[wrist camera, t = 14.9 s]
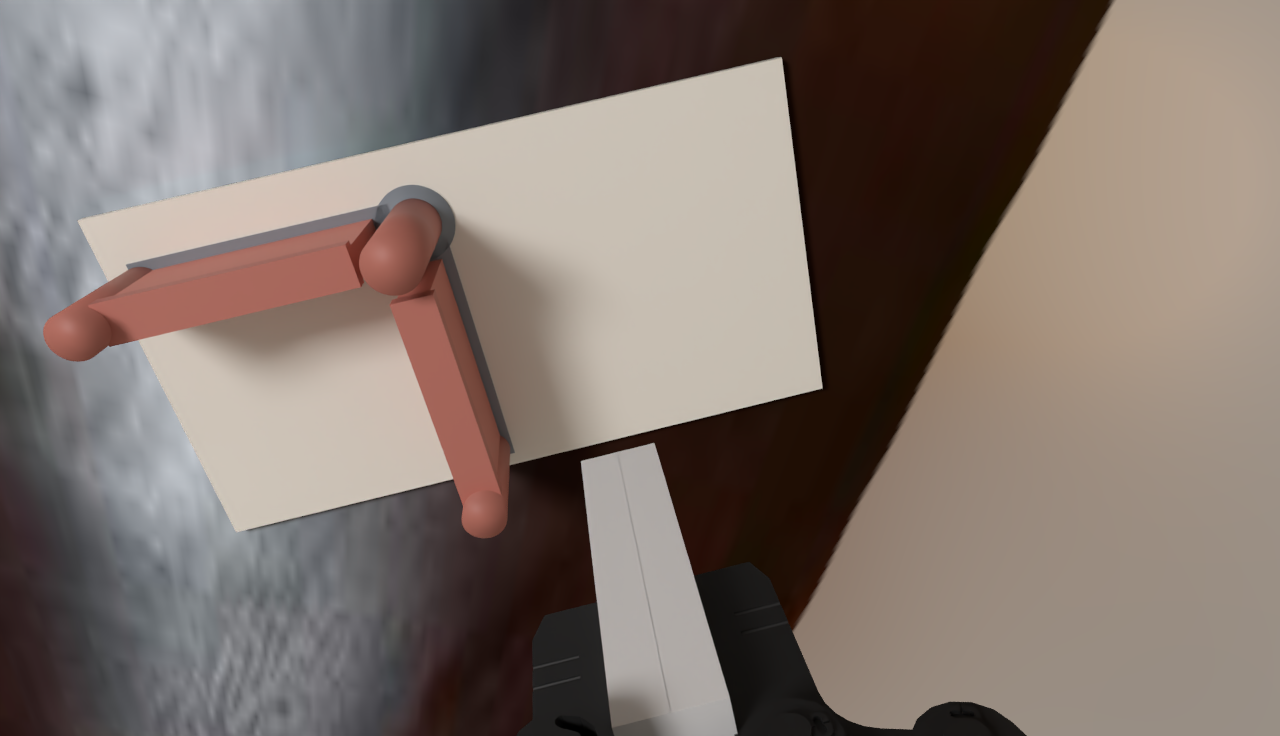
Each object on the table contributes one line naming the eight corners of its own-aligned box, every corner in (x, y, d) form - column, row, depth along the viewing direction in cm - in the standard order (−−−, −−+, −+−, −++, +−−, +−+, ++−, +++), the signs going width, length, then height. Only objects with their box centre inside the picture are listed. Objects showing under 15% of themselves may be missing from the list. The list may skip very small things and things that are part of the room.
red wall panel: (406, 267, 37) (383, 312, 32) (448, 257, 37) (433, 300, 32) (477, 470, 42) (469, 542, 36) (514, 461, 42) (512, 532, 36)
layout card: (83, 218, 35) (76, 221, 35) (778, 57, 37) (782, 57, 36) (239, 526, 42) (235, 533, 42) (819, 384, 44) (823, 389, 43)
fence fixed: (111, 267, 36) (21, 320, 30) (433, 192, 36) (412, 228, 30) (135, 316, 37) (53, 377, 31) (448, 242, 37) (432, 287, 31)
